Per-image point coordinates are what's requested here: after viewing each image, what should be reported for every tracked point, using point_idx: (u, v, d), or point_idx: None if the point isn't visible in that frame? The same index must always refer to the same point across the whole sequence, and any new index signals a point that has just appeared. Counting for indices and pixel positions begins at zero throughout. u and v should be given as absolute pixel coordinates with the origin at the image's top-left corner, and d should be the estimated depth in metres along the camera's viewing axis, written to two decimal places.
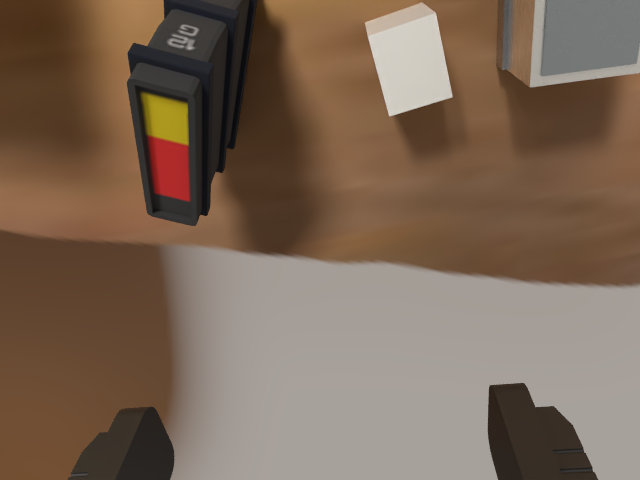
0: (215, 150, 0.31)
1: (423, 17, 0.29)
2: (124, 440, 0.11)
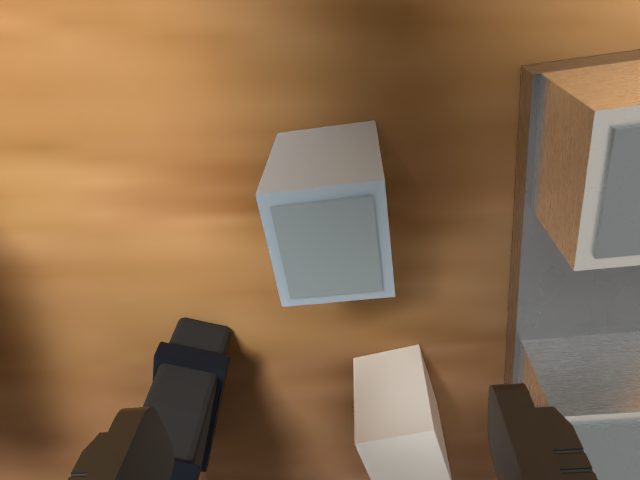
0: None
1: (419, 431, 0.24)
2: (124, 440, 0.11)
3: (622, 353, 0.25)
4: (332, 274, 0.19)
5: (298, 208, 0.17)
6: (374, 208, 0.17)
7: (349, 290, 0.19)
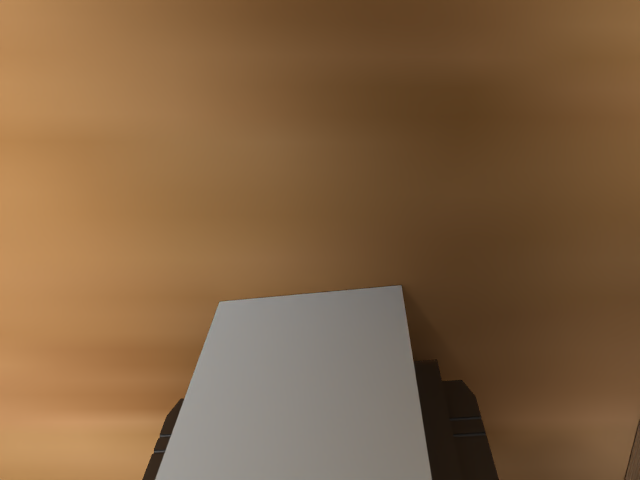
0: None
1: None
2: None
3: None
4: None
5: None
6: None
7: None
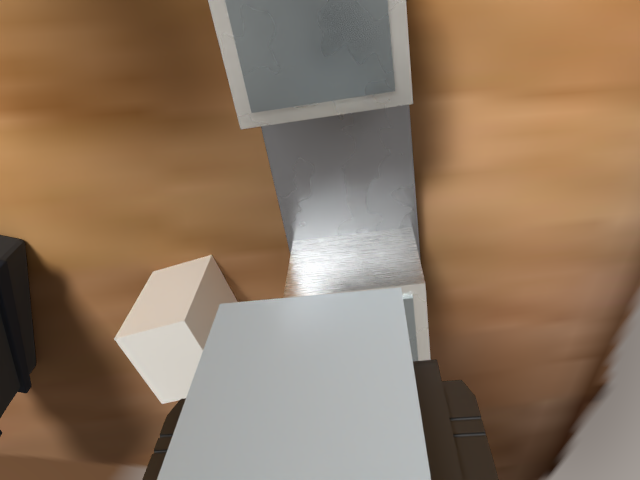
0: None
1: (172, 323, 0.25)
2: None
3: (376, 245, 0.25)
4: None
5: None
6: None
7: None
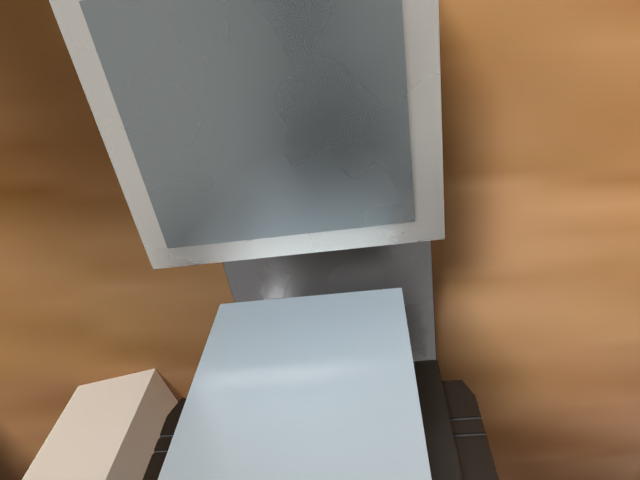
0: None
1: None
2: None
3: None
4: None
5: None
6: None
7: None
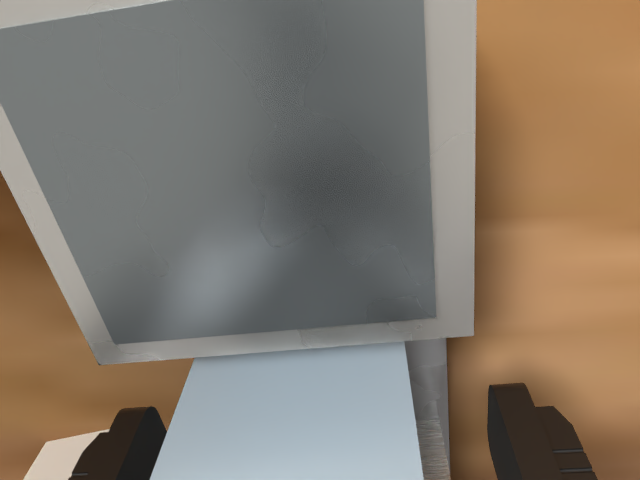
0: None
1: None
2: (125, 440, 0.11)
3: None
4: None
5: None
6: None
7: None
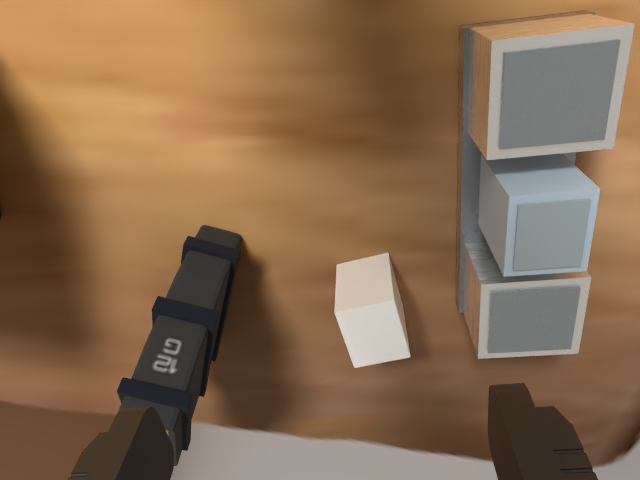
0: (196, 396, 0.35)
1: (383, 301, 0.32)
2: (124, 440, 0.11)
3: None
4: (548, 253, 0.27)
5: (538, 206, 0.26)
6: (589, 208, 0.26)
7: (556, 265, 0.28)
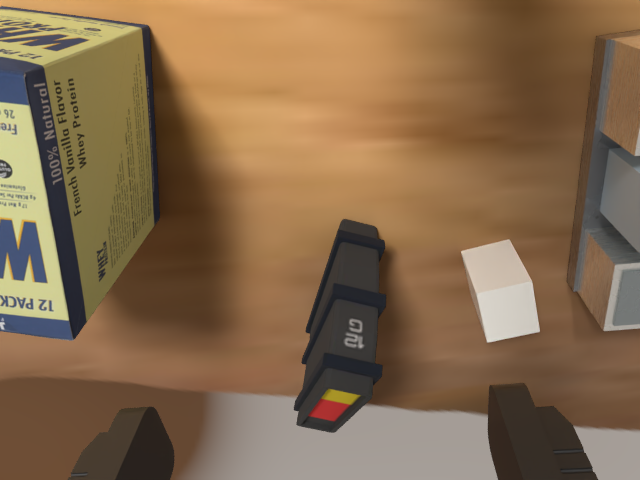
0: None
1: (521, 283, 0.36)
2: (124, 440, 0.11)
3: None
4: None
5: None
6: None
7: None
